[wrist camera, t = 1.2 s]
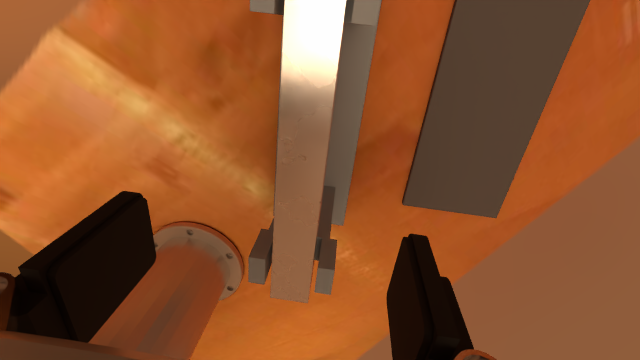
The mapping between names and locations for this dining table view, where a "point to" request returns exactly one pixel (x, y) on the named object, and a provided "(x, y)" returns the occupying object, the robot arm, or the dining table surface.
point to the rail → (304, 138)
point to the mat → (488, 100)
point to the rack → (342, 138)
